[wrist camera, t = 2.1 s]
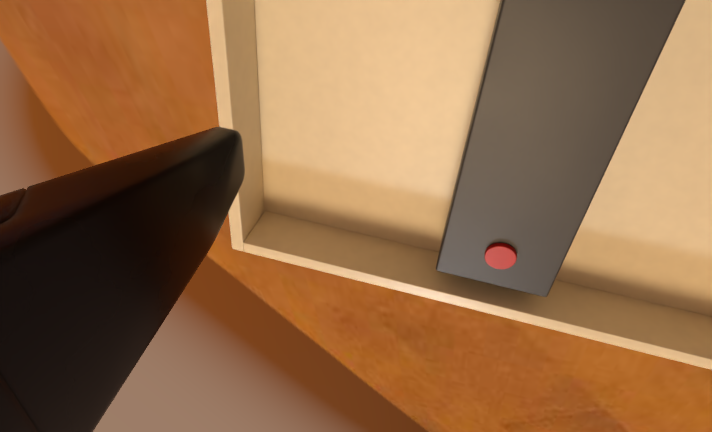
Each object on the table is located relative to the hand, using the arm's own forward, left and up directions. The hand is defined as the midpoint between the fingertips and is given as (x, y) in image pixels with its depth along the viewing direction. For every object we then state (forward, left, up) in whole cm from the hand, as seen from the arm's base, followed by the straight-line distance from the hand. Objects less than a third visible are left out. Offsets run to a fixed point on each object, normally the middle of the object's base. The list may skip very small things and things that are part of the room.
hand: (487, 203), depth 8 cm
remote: (-2, +2, -11) cm, 11 cm away
